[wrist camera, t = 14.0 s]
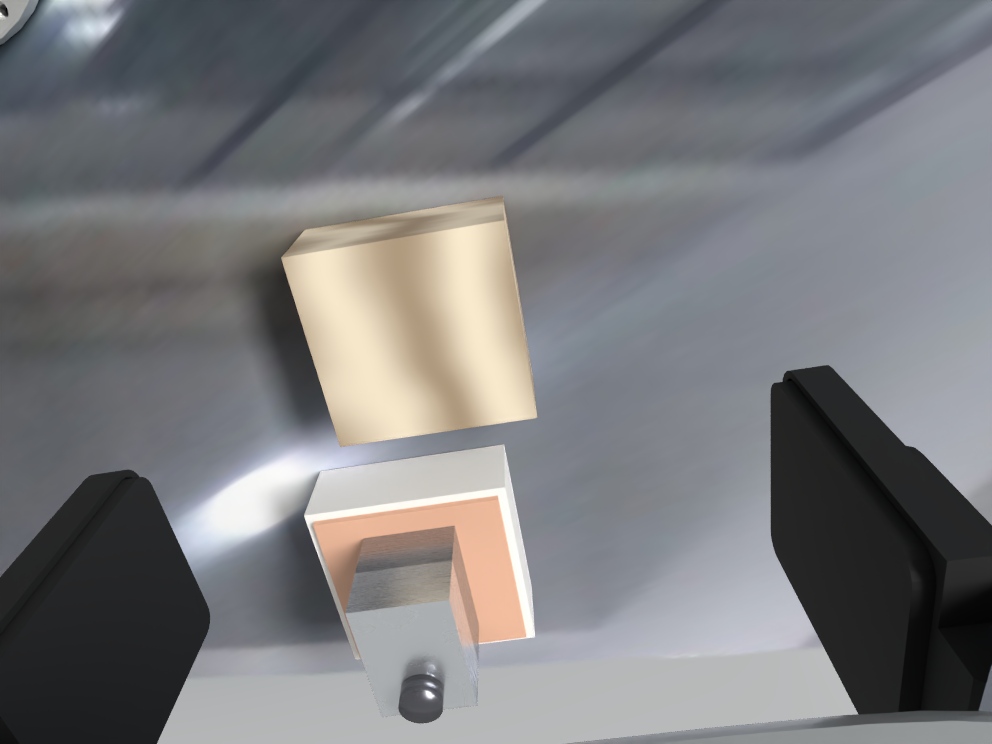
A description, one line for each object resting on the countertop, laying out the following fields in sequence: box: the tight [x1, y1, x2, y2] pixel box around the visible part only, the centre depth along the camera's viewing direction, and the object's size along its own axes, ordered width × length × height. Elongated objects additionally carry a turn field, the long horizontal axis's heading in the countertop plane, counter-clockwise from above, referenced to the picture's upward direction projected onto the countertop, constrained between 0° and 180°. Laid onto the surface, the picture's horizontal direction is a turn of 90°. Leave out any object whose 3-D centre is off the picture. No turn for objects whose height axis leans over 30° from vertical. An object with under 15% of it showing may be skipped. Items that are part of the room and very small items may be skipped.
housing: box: [345, 526, 479, 723], centre depth 41 cm, size 8×6×7 cm
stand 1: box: [281, 196, 537, 447], centre depth 40 cm, size 11×11×5 cm
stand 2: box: [304, 444, 535, 660], centre depth 47 cm, size 12×12×5 cm
